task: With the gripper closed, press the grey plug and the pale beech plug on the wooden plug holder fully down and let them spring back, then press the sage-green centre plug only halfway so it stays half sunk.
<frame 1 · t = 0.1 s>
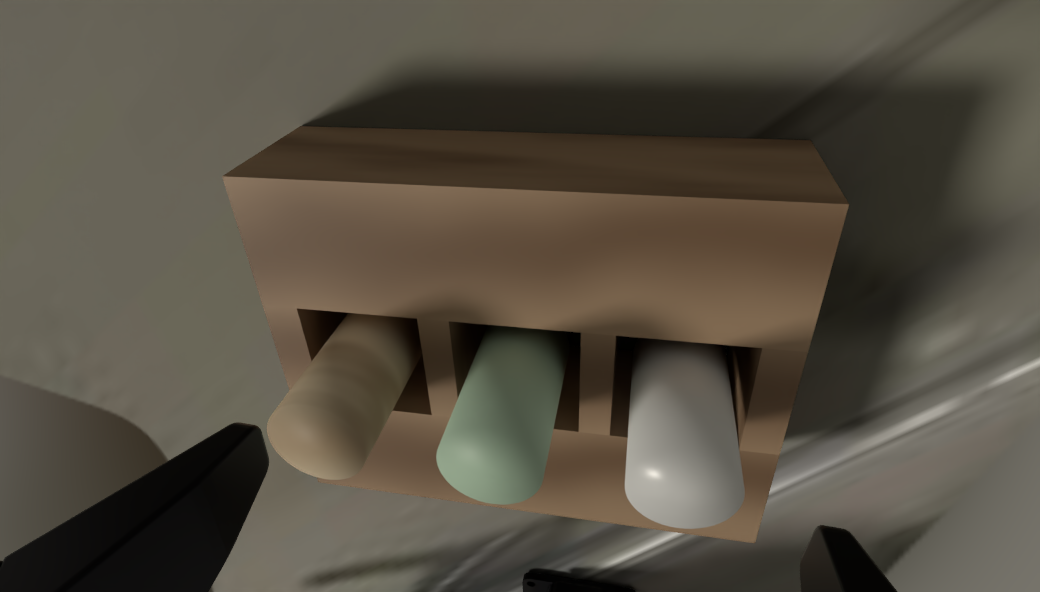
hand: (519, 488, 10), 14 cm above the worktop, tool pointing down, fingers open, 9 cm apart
wooden plug holder: (539, 299, 25), on the worktop
plug grey: (680, 415, 19), point 6 cm above the worktop, slide at 0.1 cm
plug green: (510, 398, 20), point 6 cm above the worktop, slide at 0.0 cm
plug beech: (355, 380, 21), point 6 cm above the worktop, slide at 0.1 cm
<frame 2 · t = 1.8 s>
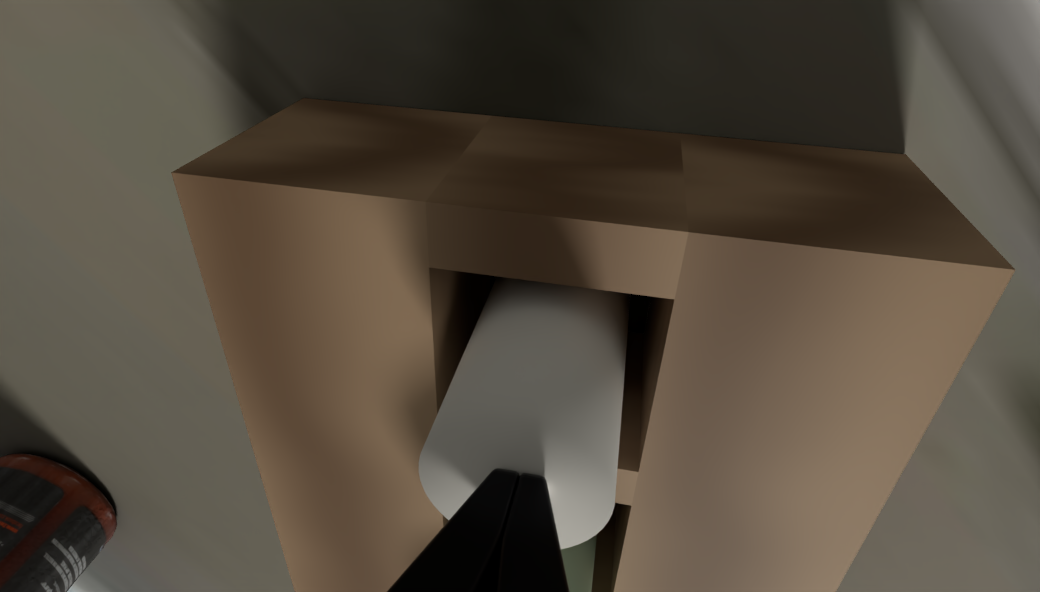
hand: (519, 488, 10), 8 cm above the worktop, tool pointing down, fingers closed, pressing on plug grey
wooden plug holder: (557, 408, 19), on the worktop
supplement bottle: (65, 489, 28), on the worktop
plug grey: (543, 369, 12), point 5 cm above the worktop, slide at 1.3 cm, touching gripper
plug green: (522, 584, 14), point 6 cm above the worktop, slide at 0.0 cm
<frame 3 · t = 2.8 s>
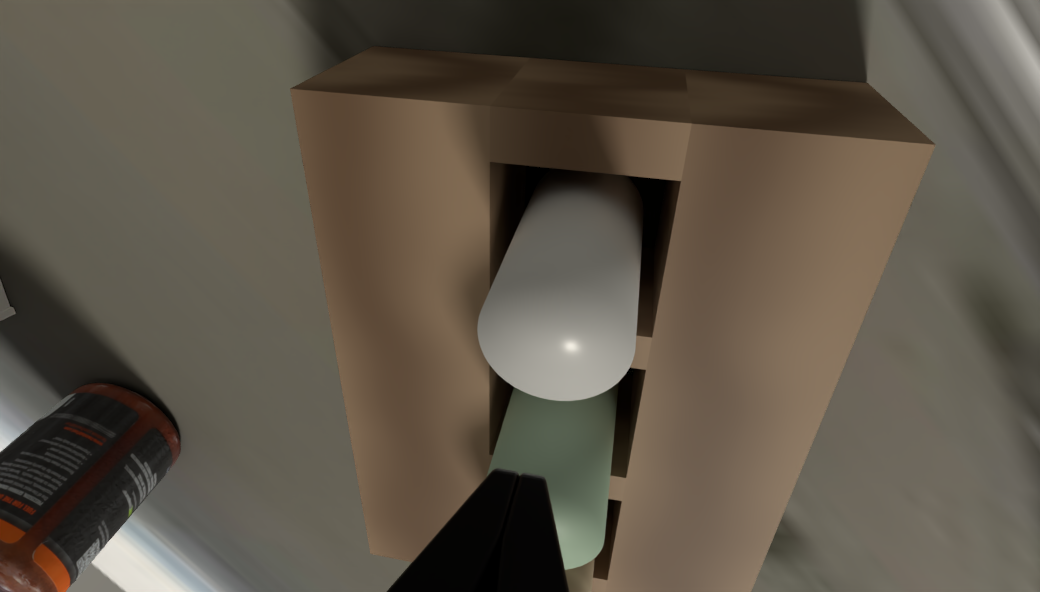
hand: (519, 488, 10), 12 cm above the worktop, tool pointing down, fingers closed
wooden plug holder: (579, 320, 22), on the worktop
supplement bottle: (134, 419, 31), on the worktop
plug grey: (572, 266, 15), point 6 cm above the worktop, slide at 0.4 cm
plug green: (556, 440, 17), point 6 cm above the worktop, slide at 0.0 cm
plug beech: (546, 555, 21), point 6 cm above the worktop, slide at 0.1 cm
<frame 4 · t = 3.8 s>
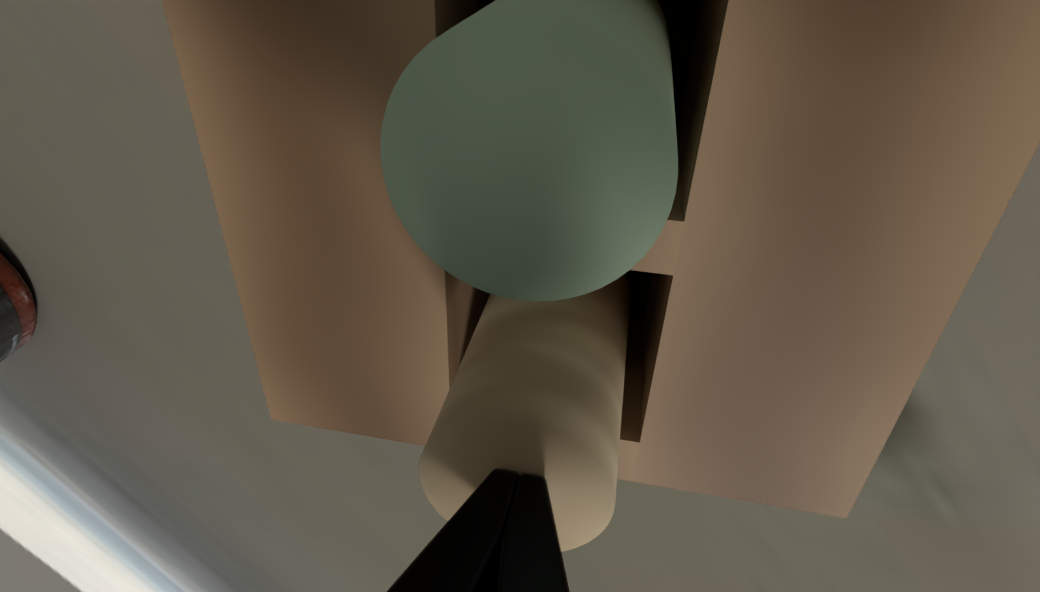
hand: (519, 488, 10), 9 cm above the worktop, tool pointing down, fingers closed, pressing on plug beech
wooden plug holder: (596, 27, 14), on the worktop
plug green: (560, 99, 9), point 6 cm above the worktop, slide at 0.0 cm
plug beech: (543, 371, 12), point 6 cm above the worktop, slide at 0.4 cm, touching gripper
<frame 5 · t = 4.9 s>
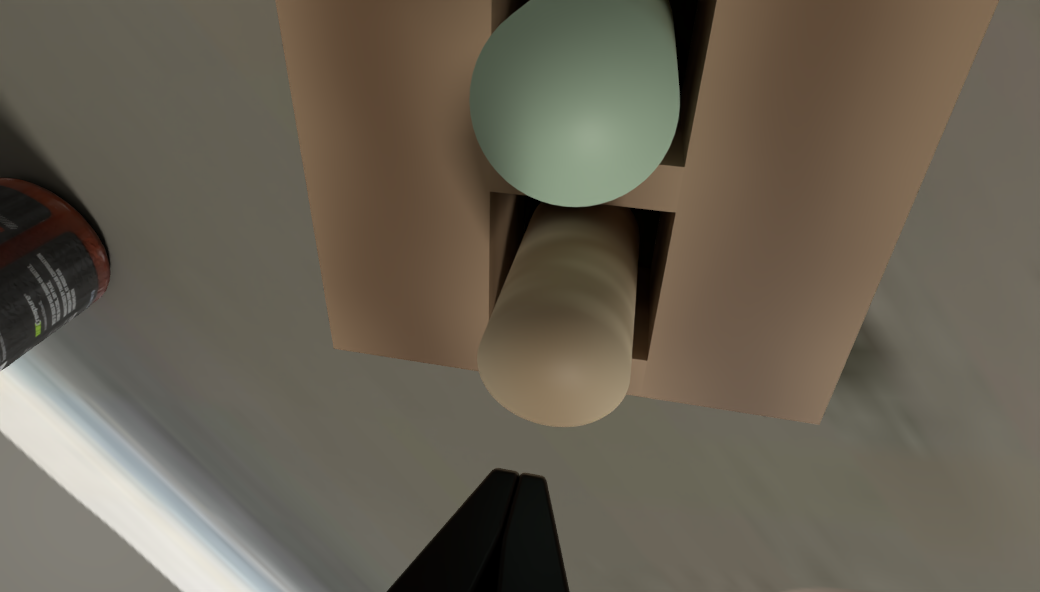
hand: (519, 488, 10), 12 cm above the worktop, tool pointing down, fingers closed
wooden plug holder: (612, 15, 17), on the worktop
supplement bottle: (54, 238, 26), on the worktop
plug green: (590, 65, 12), point 6 cm above the worktop, slide at 0.0 cm
plug beech: (570, 293, 15), point 6 cm above the worktop, slide at 0.4 cm
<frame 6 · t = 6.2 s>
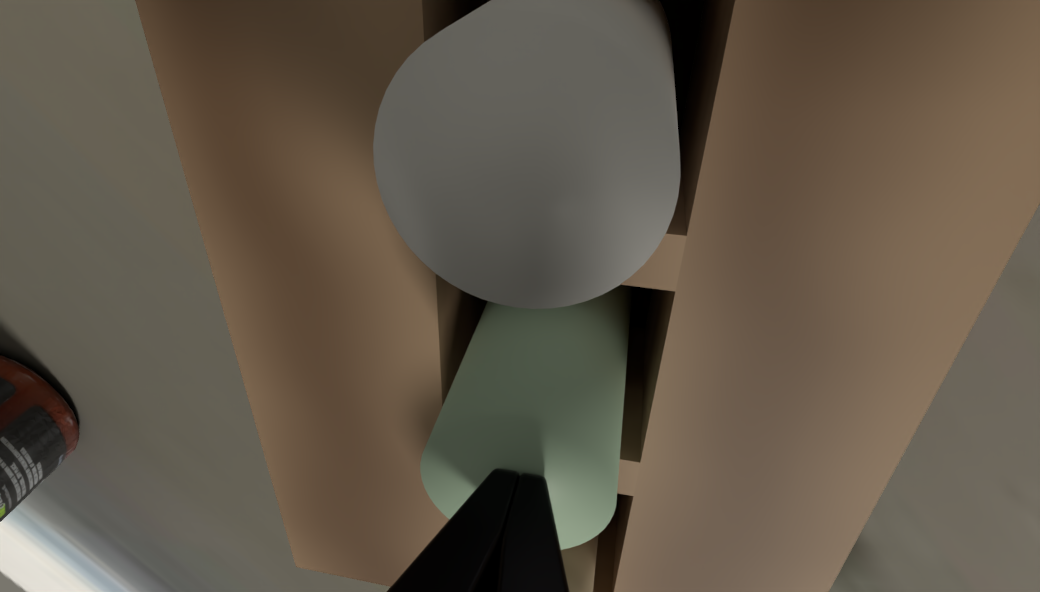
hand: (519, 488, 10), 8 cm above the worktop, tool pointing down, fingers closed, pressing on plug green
wooden plug holder: (574, 250, 16), on the worktop
supplement bottle: (23, 396, 25), on the worktop
plug grey: (559, 100, 9), point 6 cm above the worktop, slide at 0.4 cm
plug green: (545, 369, 12), point 5 cm above the worktop, slide at 1.0 cm, touching gripper
plug beech: (528, 558, 15), point 6 cm above the worktop, slide at 0.4 cm
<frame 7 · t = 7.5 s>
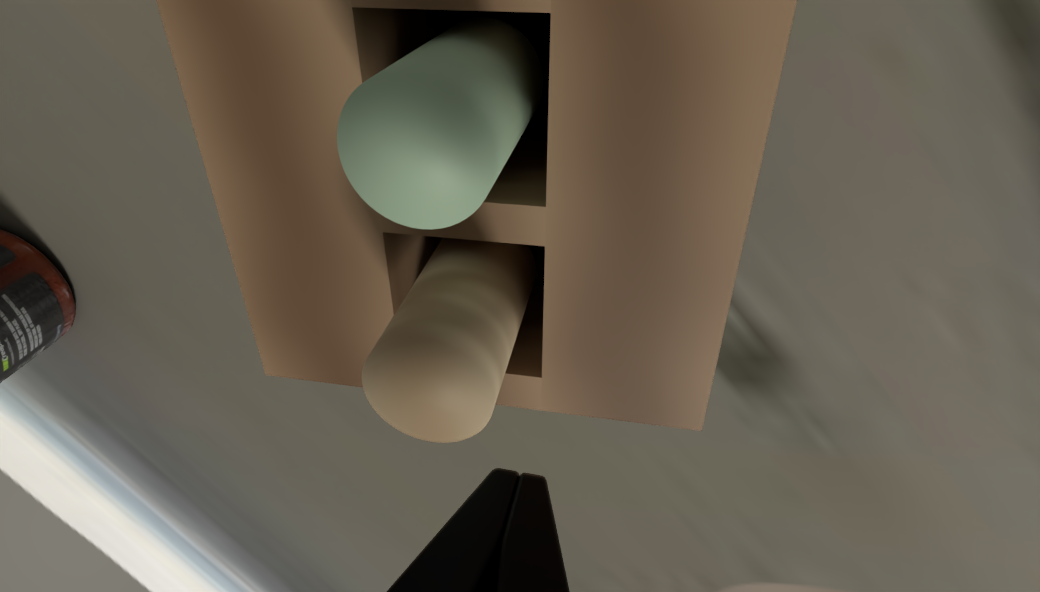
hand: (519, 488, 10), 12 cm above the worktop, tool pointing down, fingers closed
wooden plug holder: (499, 65, 18), on the worktop
supplement bottle: (23, 277, 27), on the worktop
plug green: (456, 111, 14), point 5 cm above the worktop, slide at 1.1 cm
plug beech: (460, 320, 17), point 6 cm above the worktop, slide at 0.4 cm
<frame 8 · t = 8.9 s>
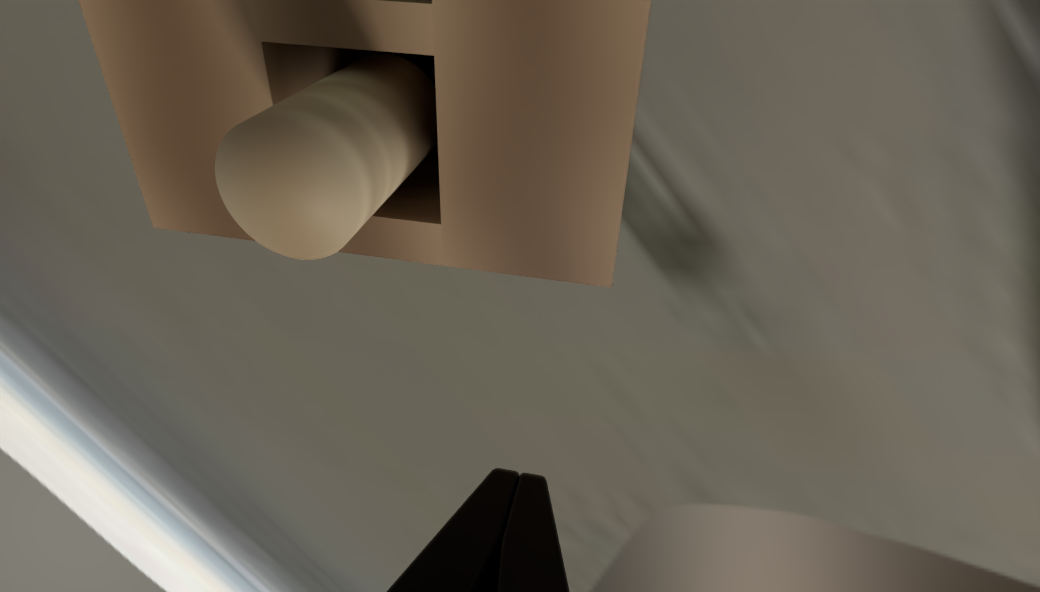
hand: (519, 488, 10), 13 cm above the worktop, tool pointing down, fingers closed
plug beech: (346, 145, 15), point 6 cm above the worktop, slide at 0.4 cm
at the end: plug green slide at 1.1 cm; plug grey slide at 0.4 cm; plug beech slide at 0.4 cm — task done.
